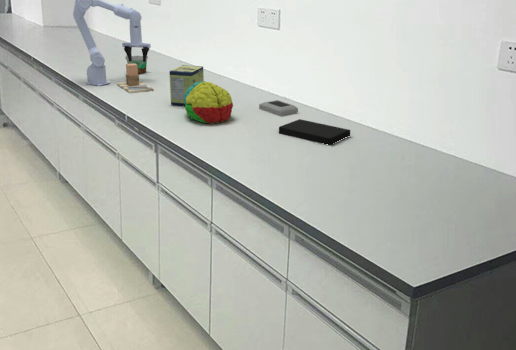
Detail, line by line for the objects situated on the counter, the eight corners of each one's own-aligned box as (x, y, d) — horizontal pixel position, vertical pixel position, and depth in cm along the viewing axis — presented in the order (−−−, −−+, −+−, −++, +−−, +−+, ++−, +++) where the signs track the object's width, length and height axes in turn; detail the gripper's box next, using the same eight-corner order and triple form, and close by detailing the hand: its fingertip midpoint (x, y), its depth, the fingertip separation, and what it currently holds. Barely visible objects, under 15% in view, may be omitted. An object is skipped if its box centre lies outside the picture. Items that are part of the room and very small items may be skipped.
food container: (127, 75, 328) (125, 57, 324) (126, 73, 333) (125, 55, 330) (149, 74, 331) (148, 56, 327) (148, 72, 336) (147, 54, 333)
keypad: (276, 98, 269) (298, 105, 257) (276, 106, 270) (297, 113, 259) (259, 101, 263) (280, 108, 252) (259, 109, 264) (280, 117, 253)
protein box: (204, 99, 280) (203, 66, 274) (192, 107, 266) (191, 72, 260) (183, 97, 282) (182, 64, 277) (170, 105, 268) (168, 71, 263)
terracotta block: (126, 73, 302) (125, 64, 300) (135, 73, 304) (134, 63, 302) (129, 75, 298) (128, 65, 297) (138, 74, 300) (137, 64, 299)
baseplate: (117, 85, 305) (116, 73, 303) (139, 82, 311) (139, 71, 309) (129, 93, 289) (128, 80, 287) (153, 90, 295) (152, 78, 293)
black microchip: (330, 146, 217) (330, 138, 216) (278, 134, 231) (278, 126, 230) (350, 137, 228) (350, 129, 227) (299, 126, 241) (299, 119, 240)
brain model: (173, 113, 255) (173, 78, 249) (212, 107, 265) (212, 73, 259) (200, 129, 237) (200, 92, 231) (241, 122, 247) (242, 87, 241)
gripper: (119, 35, 303) (121, 62, 308) (146, 36, 300) (148, 63, 305) (124, 33, 309) (126, 59, 314) (151, 34, 307) (152, 61, 312)
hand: (137, 61), depth 310 cm, fingers open, 7 cm apart
